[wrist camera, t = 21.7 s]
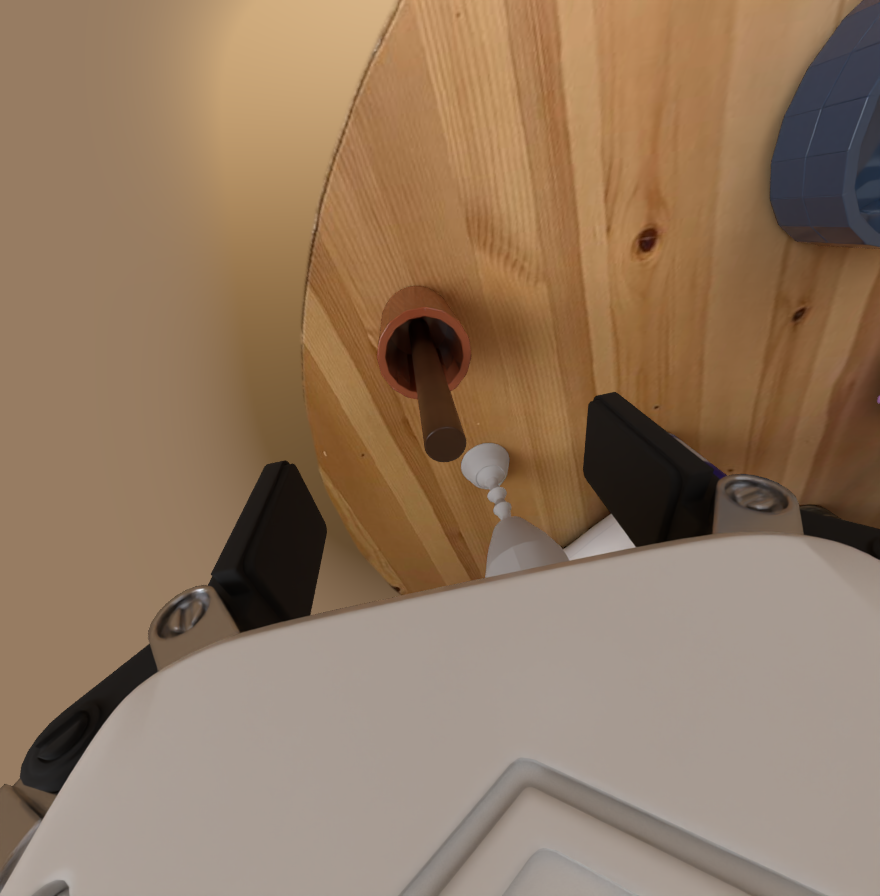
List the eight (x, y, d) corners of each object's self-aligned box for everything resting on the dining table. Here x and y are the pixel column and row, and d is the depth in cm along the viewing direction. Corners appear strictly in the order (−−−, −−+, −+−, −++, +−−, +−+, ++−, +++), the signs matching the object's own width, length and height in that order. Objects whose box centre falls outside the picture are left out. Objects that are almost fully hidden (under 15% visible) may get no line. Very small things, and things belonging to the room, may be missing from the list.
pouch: (669, 524, 32) (512, 636, 39) (740, 589, 41) (603, 671, 47) (619, 474, 39) (492, 575, 45) (689, 539, 48) (575, 617, 54)
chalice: (474, 423, 33) (542, 591, 18) (531, 447, 35) (634, 613, 20) (440, 480, 36) (472, 662, 21) (494, 498, 39) (559, 674, 24)
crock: (373, 294, 26) (365, 318, 19) (446, 278, 26) (464, 298, 19) (391, 365, 29) (390, 407, 22) (457, 351, 29) (475, 390, 22)
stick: (406, 320, 27) (420, 432, 13) (426, 316, 27) (463, 423, 13) (410, 341, 28) (428, 466, 14) (430, 337, 28) (469, 458, 14)
